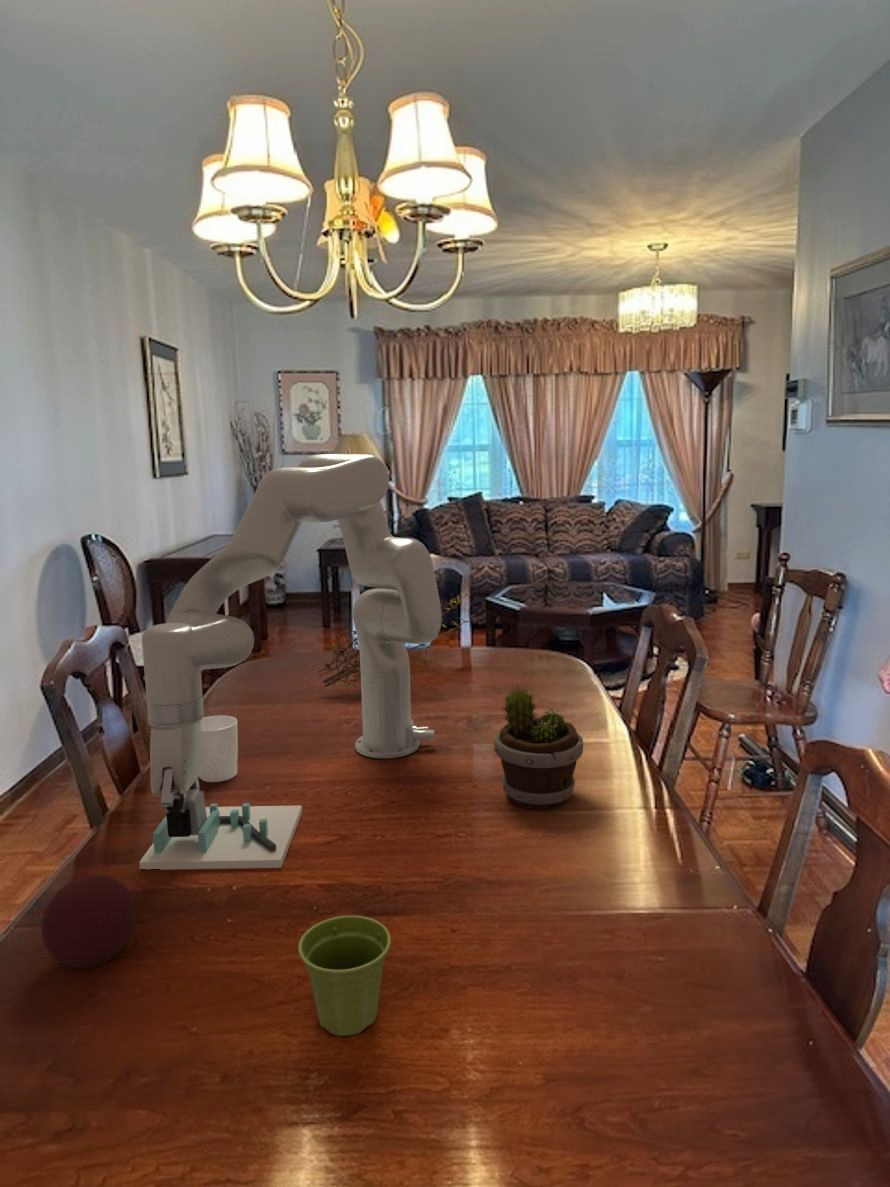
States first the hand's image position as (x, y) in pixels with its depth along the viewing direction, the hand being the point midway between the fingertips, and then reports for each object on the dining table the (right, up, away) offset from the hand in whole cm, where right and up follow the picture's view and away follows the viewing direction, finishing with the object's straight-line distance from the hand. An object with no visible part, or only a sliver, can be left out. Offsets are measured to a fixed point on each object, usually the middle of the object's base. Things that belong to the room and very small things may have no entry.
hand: (185, 827), depth 116 cm
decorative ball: (-3, -9, -24) cm, 25 cm away
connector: (+1, 0, 0) cm, 1 cm away
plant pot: (+28, -10, -34) cm, 45 cm away
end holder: (0, -2, +1) cm, 2 cm away
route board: (+5, -3, +4) cm, 7 cm away
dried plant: (+29, +11, +76) cm, 82 cm away
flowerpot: (+54, 0, +17) cm, 57 cm away
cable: (+7, -2, +2) cm, 7 cm away
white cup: (-3, +1, +27) cm, 28 cm away
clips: (+7, -2, +4) cm, 8 cm away
